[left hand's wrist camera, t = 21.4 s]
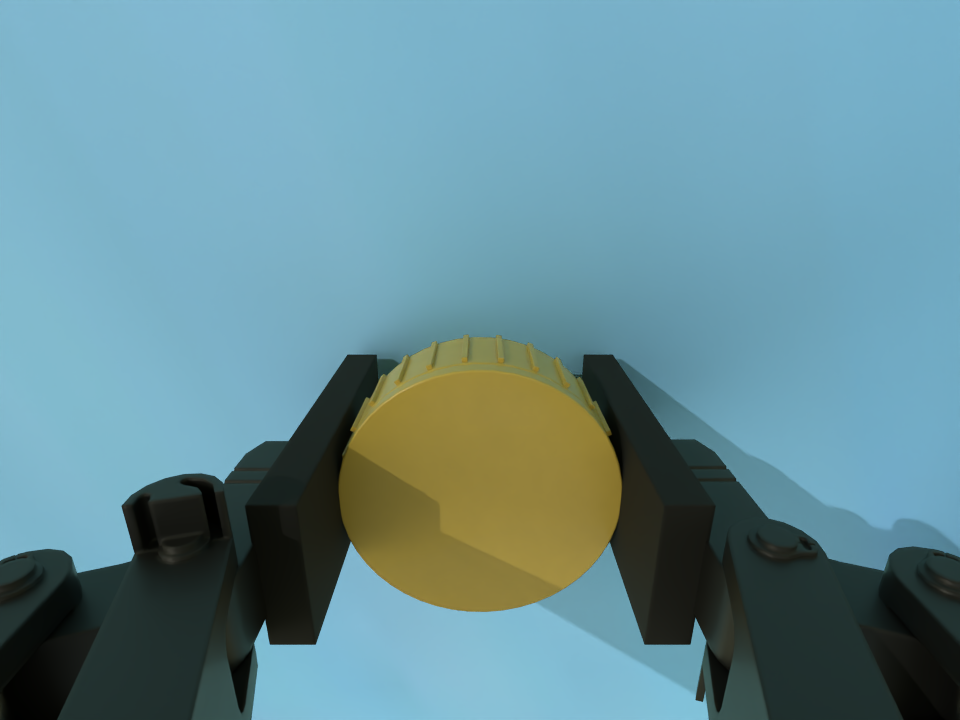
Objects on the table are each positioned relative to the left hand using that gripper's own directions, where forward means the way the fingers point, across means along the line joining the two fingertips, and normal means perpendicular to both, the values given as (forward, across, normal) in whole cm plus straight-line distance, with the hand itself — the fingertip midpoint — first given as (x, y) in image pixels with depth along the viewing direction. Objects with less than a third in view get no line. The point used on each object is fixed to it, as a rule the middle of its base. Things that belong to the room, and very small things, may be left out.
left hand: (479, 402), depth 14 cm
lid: (-4, 0, 0) cm, 4 cm away
